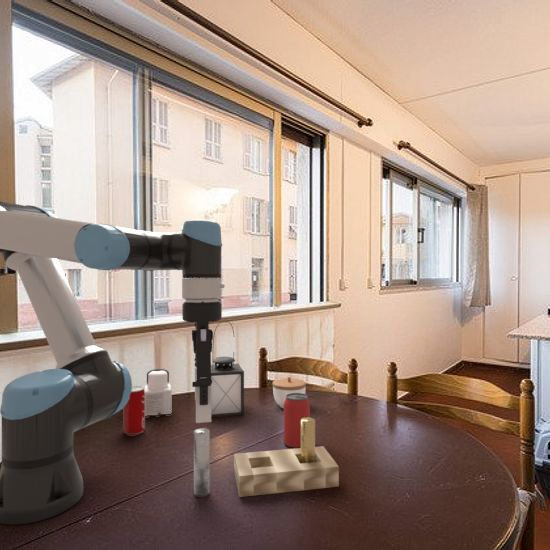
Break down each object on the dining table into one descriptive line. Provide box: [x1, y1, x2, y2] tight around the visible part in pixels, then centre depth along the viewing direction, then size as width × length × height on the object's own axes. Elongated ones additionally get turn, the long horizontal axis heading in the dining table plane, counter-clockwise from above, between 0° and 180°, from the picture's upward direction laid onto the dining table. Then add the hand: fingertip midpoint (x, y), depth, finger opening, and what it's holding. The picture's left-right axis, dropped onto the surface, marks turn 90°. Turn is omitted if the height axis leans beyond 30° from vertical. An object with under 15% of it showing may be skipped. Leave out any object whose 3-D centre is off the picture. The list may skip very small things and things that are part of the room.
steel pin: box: [193, 427, 211, 498], centre depth 80 cm, size 3×3×12 cm
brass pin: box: [301, 417, 316, 464], centre depth 87 cm, size 3×3×12 cm
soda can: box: [122, 385, 146, 435], centre depth 111 cm, size 6×6×12 cm
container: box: [144, 368, 173, 416], centre depth 127 cm, size 8×8×13 cm
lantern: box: [211, 320, 245, 418], centre depth 129 cm, size 11×11×28 cm
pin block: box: [233, 445, 340, 498], centre depth 86 cm, size 20×10×4 cm, turn 101°
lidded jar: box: [272, 376, 307, 410], centre depth 133 cm, size 11×11×9 cm
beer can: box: [283, 393, 311, 449], centre depth 104 cm, size 7×7×12 cm
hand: (202, 409), depth 80 cm, fingers open, 13 cm apart
